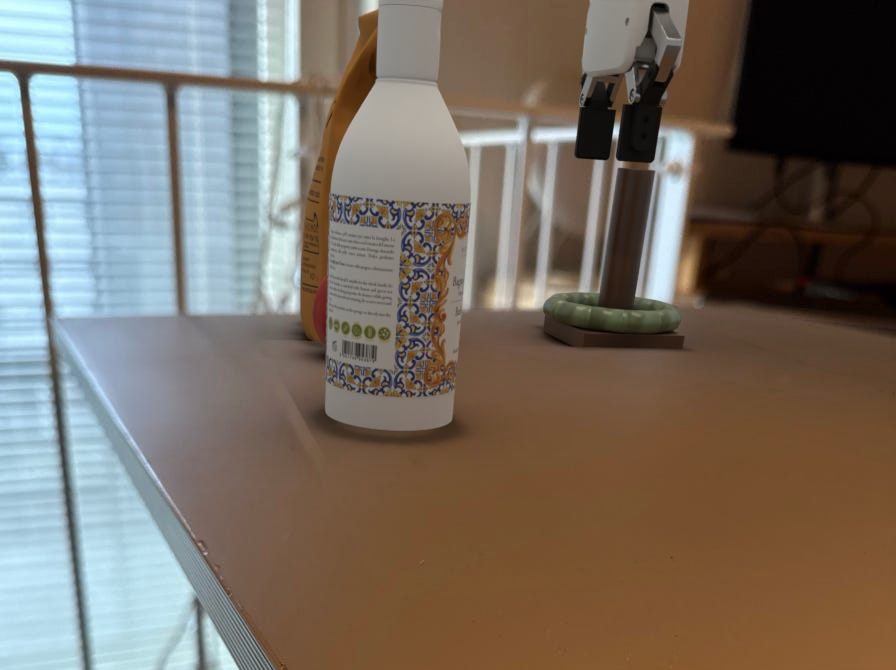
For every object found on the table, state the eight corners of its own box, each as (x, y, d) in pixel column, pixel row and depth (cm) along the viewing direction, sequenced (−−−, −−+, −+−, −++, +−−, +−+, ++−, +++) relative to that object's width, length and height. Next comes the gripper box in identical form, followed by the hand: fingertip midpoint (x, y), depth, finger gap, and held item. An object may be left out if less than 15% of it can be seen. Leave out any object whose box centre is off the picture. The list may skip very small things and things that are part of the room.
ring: (641, 313, 89) (645, 293, 88) (704, 337, 79) (708, 314, 79) (524, 310, 86) (527, 288, 86) (574, 333, 77) (577, 310, 76)
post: (634, 334, 88) (661, 170, 82) (681, 353, 80) (715, 174, 74) (542, 331, 86) (563, 163, 80) (582, 351, 78) (608, 167, 72)
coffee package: (414, 327, 83) (433, 27, 73) (435, 356, 72) (460, 8, 62) (298, 322, 81) (301, 15, 71) (301, 350, 71) (305, -7, 60)
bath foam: (440, 453, 49) (477, -16, 40) (309, 437, 50) (316, -25, 41) (459, 421, 55) (496, 7, 46) (342, 407, 56) (355, 0, 47)
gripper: (750, -110, 67) (700, 166, 75) (643, -66, 82) (611, 161, 90) (651, -125, 65) (612, 160, 73) (561, -77, 80) (536, 155, 88)
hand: (612, 159), depth 82 cm, fingers open, 8 cm apart
